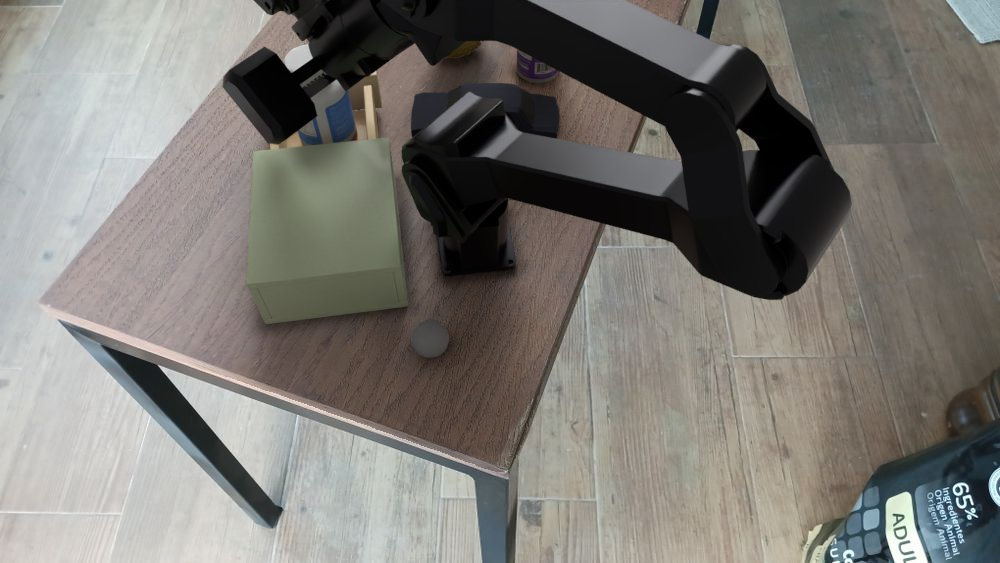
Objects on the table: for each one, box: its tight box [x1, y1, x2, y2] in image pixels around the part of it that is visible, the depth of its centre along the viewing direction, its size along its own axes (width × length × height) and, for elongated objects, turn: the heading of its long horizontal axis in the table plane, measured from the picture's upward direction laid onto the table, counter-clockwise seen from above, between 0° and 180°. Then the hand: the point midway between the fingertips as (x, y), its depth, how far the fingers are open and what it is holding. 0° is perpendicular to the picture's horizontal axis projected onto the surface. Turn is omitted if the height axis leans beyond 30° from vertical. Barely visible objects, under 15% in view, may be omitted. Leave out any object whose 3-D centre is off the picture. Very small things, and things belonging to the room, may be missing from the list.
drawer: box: [269, 70, 383, 150], centre depth 70 cm, size 18×11×4 cm, turn 9°
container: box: [516, 49, 560, 84], centre depth 73 cm, size 5×5×15 cm
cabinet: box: [245, 137, 409, 325], centre depth 63 cm, size 14×12×6 cm
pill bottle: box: [283, 43, 358, 146], centre depth 66 cm, size 6×5×10 cm
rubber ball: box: [410, 319, 450, 359], centre depth 58 cm, size 3×3×3 cm
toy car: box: [410, 82, 561, 139], centre depth 71 cm, size 6×15×5 cm, turn 89°
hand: (303, 77), depth 65 cm, fingers open, 9 cm apart
